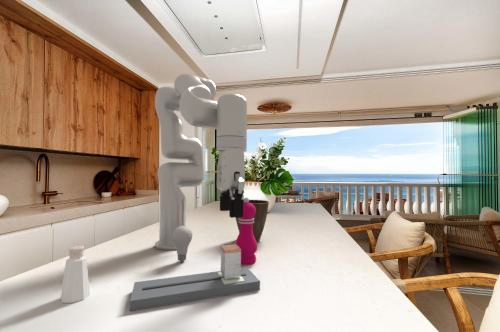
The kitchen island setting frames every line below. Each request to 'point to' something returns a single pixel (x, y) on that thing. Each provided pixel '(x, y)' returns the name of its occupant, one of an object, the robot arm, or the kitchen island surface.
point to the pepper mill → (247, 234)
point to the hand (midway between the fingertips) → (230, 213)
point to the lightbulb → (182, 241)
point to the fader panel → (189, 288)
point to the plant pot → (257, 217)
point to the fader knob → (230, 261)
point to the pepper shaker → (75, 277)
